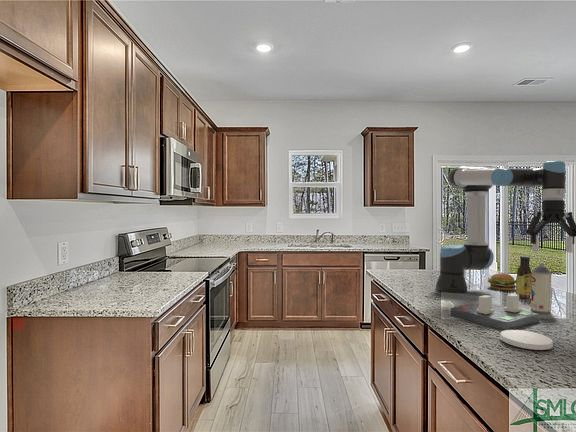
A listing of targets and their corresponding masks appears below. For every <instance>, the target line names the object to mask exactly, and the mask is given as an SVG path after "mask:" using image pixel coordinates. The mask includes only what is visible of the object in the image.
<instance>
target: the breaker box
mask: <svg viewBox="0 0 576 432" xmlns="http://www.w3.org/2000/svg"><path fill="white" fill-rule="evenodd" d="M504 307H507V305H506V306H505V305H500V304H496V303H492V304H491V309H492V310H494V313H490V314H483V313H479V312H476V309H479V301H478V302H474V303H469V304H464V305H459V306H455V307H451V308H450V317H456V318H458V319H462V320H466V321H469V322H473V323H476V324H480V325H484V326H488V327H492V328H495V329H499V330H501V331H504V330H516V329H518V328H522V327H526V326H528V325H531V324H535V323H539V319H540V317H539V315H540V313H536V312H533V311H528V310H523V309H521V311H519V312H515V313H514V312H510V311H506V310H504Z"/></svg>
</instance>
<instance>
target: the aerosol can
mask: <svg viewBox="0 0 576 432" xmlns="http://www.w3.org/2000/svg"><path fill="white" fill-rule="evenodd" d="M531 272H532V283H531V297H530V312H533V313H537V314H545V315H546V314H551V303H552V302H551V301H552V272H551V271H550V270H549V268H547V267H546V266H545V263H541V262H540V263H539V265H538V266H536V267H534V269H531Z"/></svg>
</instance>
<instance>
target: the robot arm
mask: <svg viewBox="0 0 576 432" xmlns="http://www.w3.org/2000/svg"><path fill="white" fill-rule="evenodd" d="M566 168H567V167H566V163H565V162H564V161H563V160H553V161H552V160H551V161H550V160H549V161H545V162H543V164H542V167H540V168H517V167H516V168H515V167H497V168H488V167H483V166H456V167H454V168H453V169H451V170H450V171H449V173H448V174H447V175H448V176H447V180H448V183H449V185H450V186H451V187H453V188H455V189H459V190H463V193H464V194H465V195H466V197H467V198H466V199H467V202H466V205H467V206H466V211H467V212H466V213H467V214H466V217H467V219H466V221H467V222H466V224H467V225H466V227H467V229H466V233H467V235H466V236H467V237H466V242H464V243H463V244H447V245H443V246H442V247H441V248H440V253H439V276H438V278H437V281H436V284H435V289H436V290H437V291H441V292H445V293H452V294H453V293H454V294H463V293H467V292H468V285H467V281H466V279H465V270H466V271H467V270H469V271H470V270H474V271H476V270H478V271H481V270H487V269H489V268H490V267H491V266H492V265H493V263H494V260H495V259H494V258H495V256H494V255H495V254H494V252H493V250H492V249H491V248H490V247H489V243H488V242H486V196H487V195H488V194H489V190H490V189H492V187H493V186H499V187H524V188H533V187H542V191H541V192H542V194H541V195H542V197H541V198H542V199H543V200H541V208H542V211H534V213H533V217H532V220H531V221H530V223H529V226H528V227H527V229H526V231H525V234H527V235H529V236H530V243H531V246H532V250H531V251H532V252H534V253H539V245H540V243H539V240H540V237H539V236H540V235H538V234H539V233H540V232H541V231H542V230H543V229H544V227H546V225H547V224H549V223H550V224H551V223H553V224H558V225H560V227H561V228H562V229H563V231H564V232H565V233H566V234H567V235H566V236H565V253H570V254H572V253H573V250H574V249H573V248H574V247H573V245H575V237H576V222H575V219H574V217H573V212H572V211H564V210H565V207H566V206H565V205H566V204H565V203H566V201H565V198H566V173H567V171H566V170H567V169H566ZM541 217H542V218H541ZM564 218H565V219H564Z"/></svg>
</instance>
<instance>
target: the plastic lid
mask: <svg viewBox="0 0 576 432" xmlns="http://www.w3.org/2000/svg"><path fill="white" fill-rule="evenodd" d="M499 335H500V340H501V341H502V342H504V343H506V344H508V345H511V346H514V347H518V348H522V349H527V350H535V351H537V350H538V351H543V350H550V349H552V348H553V347H554V345H553V344H554V341H553V340H552V338H550V337H549V336H547V335H543V334H540V333H538V332H532V331H527V330H521V329H520V330H519V329H512V330H501V332H500V334H499Z"/></svg>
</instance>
